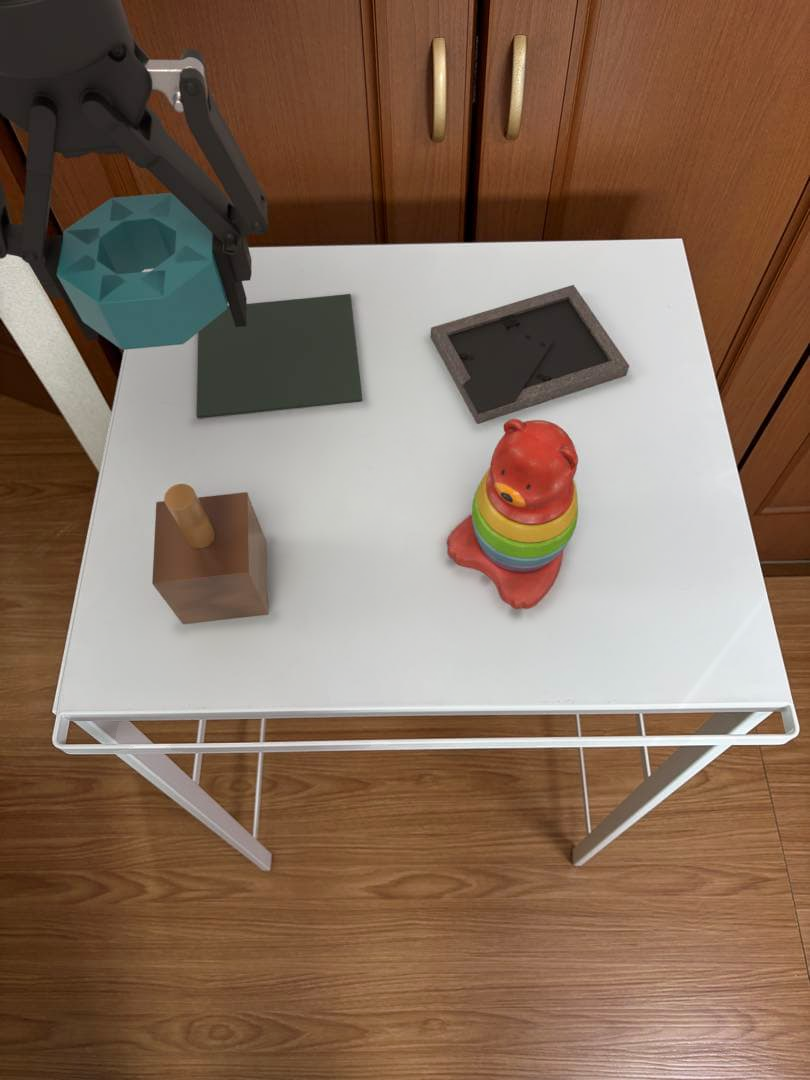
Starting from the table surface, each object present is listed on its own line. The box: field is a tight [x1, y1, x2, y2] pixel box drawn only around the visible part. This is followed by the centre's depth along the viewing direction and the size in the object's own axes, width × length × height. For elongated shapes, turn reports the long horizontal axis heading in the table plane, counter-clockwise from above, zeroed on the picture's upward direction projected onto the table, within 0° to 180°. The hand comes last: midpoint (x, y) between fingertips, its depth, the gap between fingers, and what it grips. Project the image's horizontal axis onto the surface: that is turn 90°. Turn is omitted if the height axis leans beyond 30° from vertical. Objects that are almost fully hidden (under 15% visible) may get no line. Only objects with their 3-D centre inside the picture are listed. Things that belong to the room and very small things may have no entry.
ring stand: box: [151, 483, 269, 625], centre depth 65 cm, size 8×8×16 cm
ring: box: [57, 192, 229, 351], centre depth 48 cm, size 10×10×4 cm
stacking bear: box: [446, 418, 579, 610], centre depth 65 cm, size 11×10×18 cm
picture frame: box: [430, 284, 630, 425], centre depth 83 cm, size 13×2×18 cm
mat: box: [196, 293, 363, 419], centre depth 85 cm, size 18×16×1 cm
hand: (168, 319), depth 52 cm, fingers closed on ring, 10 cm apart
